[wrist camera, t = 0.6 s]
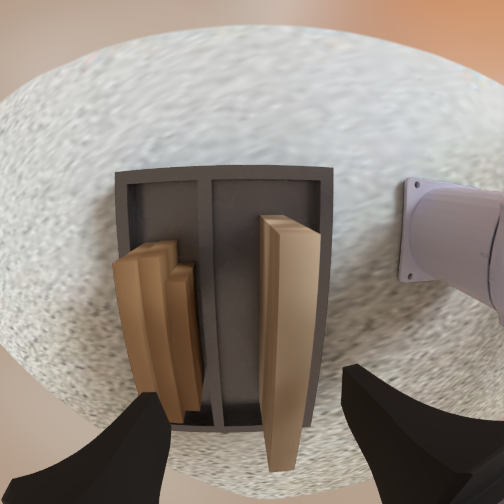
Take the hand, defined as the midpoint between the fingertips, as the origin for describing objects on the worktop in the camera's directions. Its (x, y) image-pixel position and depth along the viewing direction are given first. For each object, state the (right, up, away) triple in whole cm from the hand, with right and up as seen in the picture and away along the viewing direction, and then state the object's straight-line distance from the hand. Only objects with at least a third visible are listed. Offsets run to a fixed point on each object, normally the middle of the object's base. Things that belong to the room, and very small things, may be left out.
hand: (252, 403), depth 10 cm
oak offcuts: (-5, +1, +9) cm, 11 cm away
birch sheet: (+1, +1, +10) cm, 10 cm away
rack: (-2, +1, +10) cm, 10 cm away
